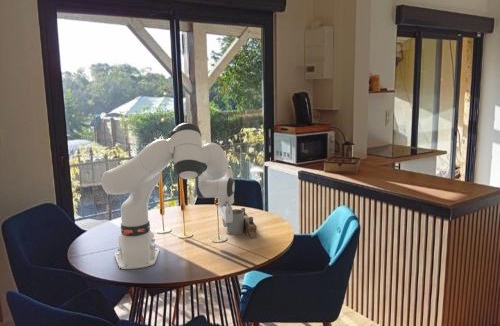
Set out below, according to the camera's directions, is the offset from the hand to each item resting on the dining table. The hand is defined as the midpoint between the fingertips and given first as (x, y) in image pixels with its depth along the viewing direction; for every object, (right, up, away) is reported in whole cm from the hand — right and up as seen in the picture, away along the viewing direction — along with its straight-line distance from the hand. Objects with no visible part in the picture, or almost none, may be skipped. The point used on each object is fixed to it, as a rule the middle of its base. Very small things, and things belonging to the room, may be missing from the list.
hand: (225, 226), depth 198 cm
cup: (+5, -3, +2) cm, 6 cm away
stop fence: (+11, -2, +3) cm, 11 cm away
